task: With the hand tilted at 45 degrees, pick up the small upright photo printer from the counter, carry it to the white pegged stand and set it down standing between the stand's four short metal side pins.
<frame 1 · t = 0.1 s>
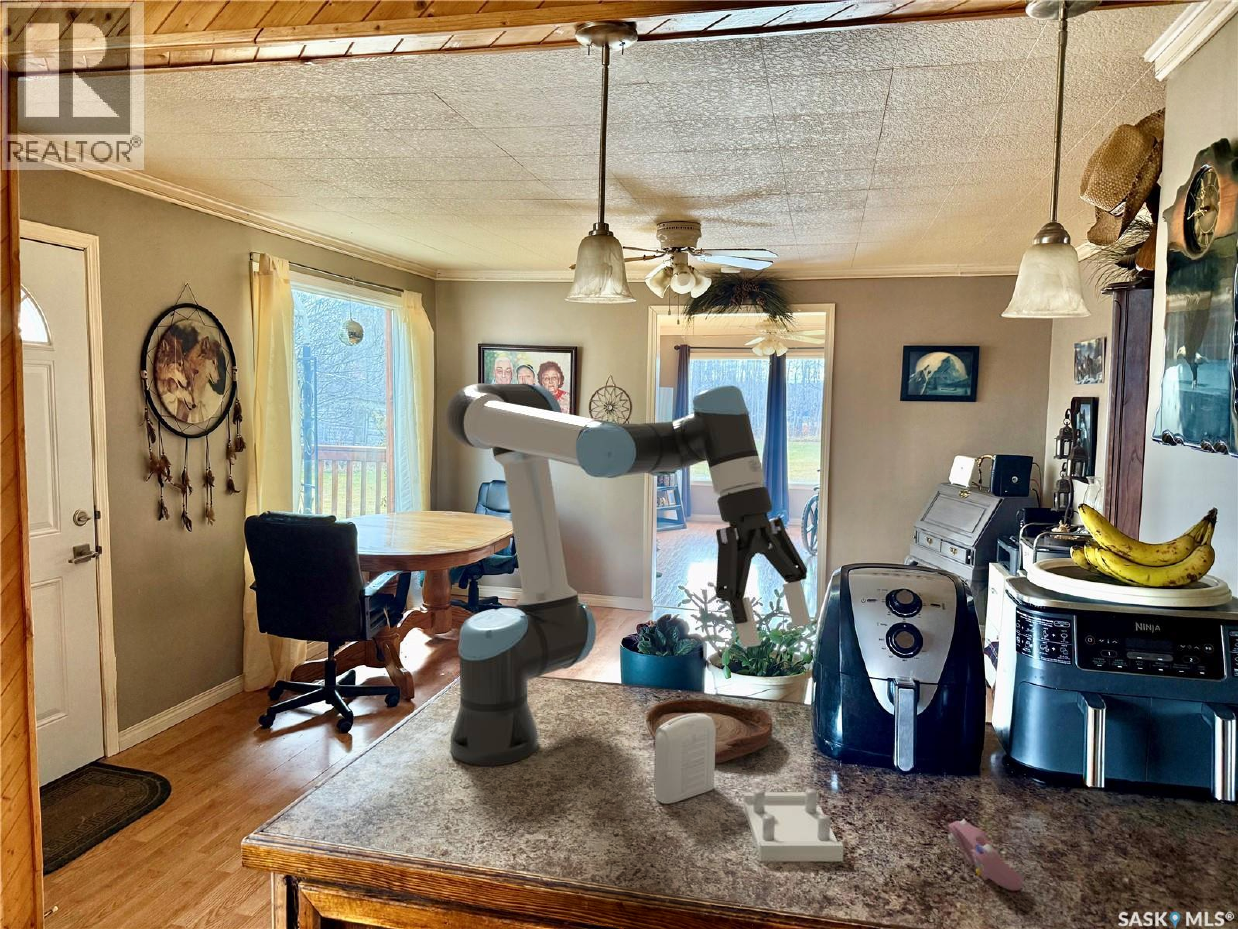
hand: (778, 636, 112), 28 cm above the kitchen counter, tool tilted 20°, fingers open, 13 cm apart
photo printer: (684, 794, 123), on the kitchen counter
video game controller: (981, 872, 103), on the kitchen counter
white pegged stand: (790, 832, 112), on the kitchen counter
basket: (708, 742, 142), on the kitchen counter
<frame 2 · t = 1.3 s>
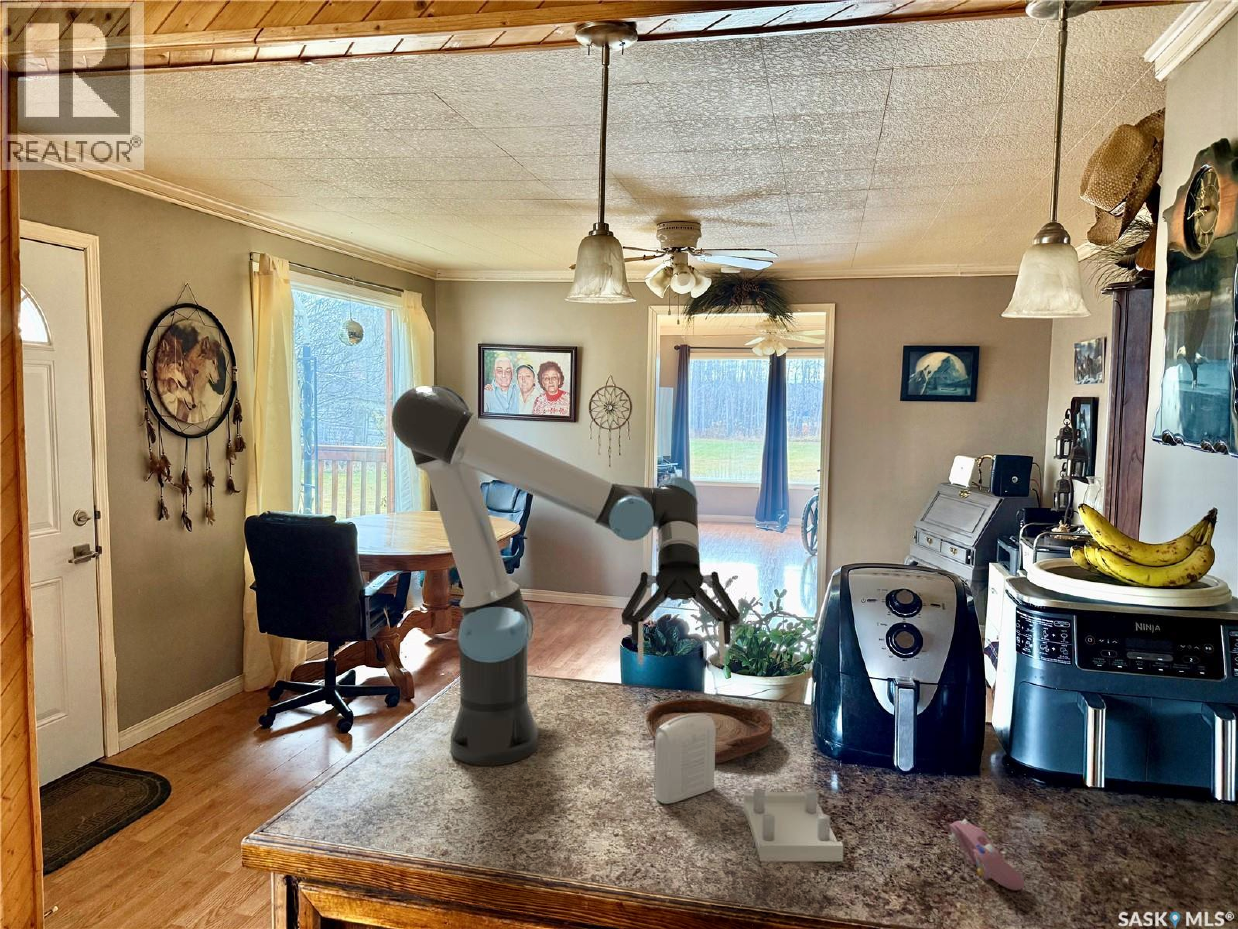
hand: (681, 661, 130), 18 cm above the kitchen counter, tool tilted 45°, fingers open, 13 cm apart
nothing on the kitchen counter moved.
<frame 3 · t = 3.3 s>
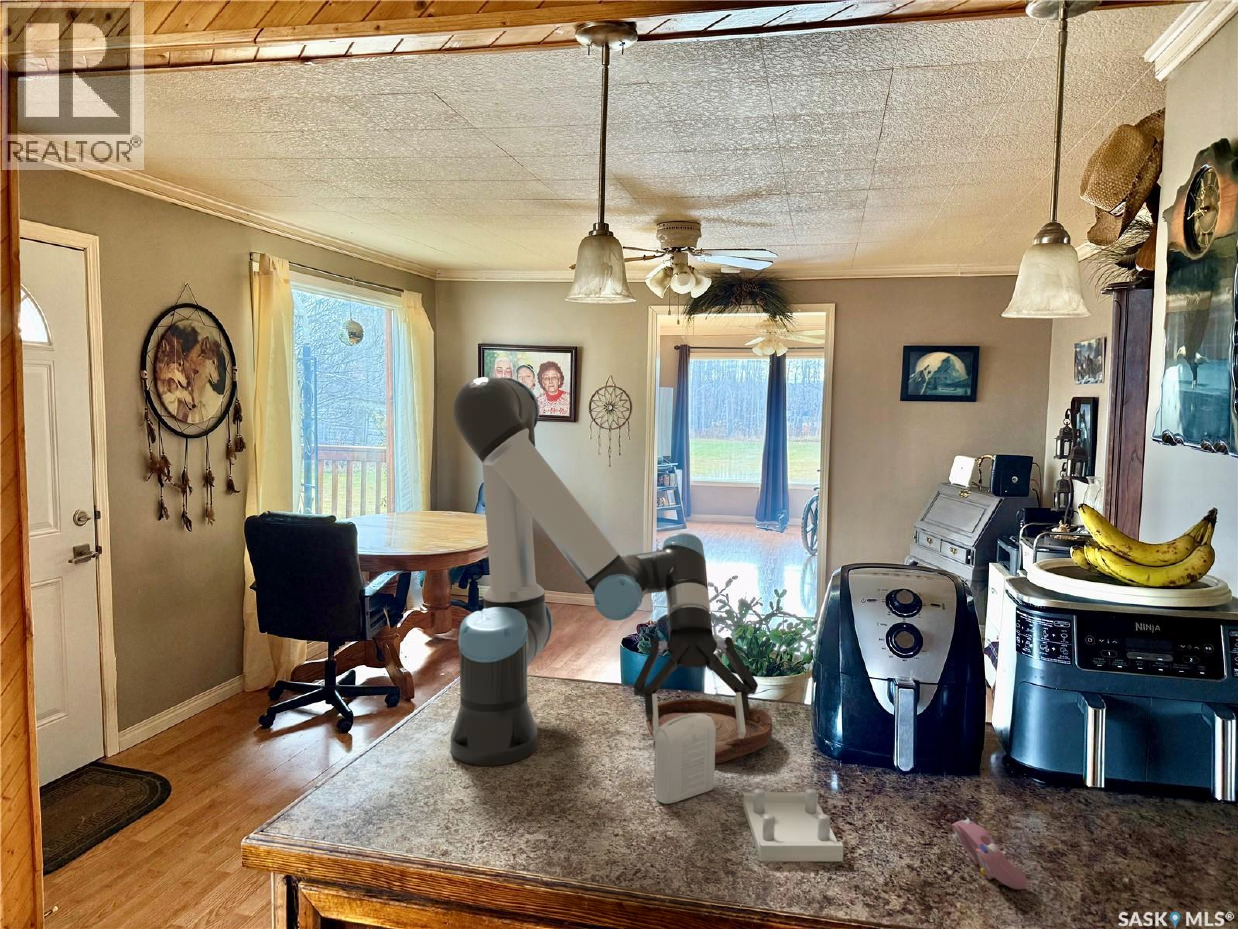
hand: (699, 736, 124), 8 cm above the kitchen counter, tool tilted 45°, fingers open, 13 cm apart
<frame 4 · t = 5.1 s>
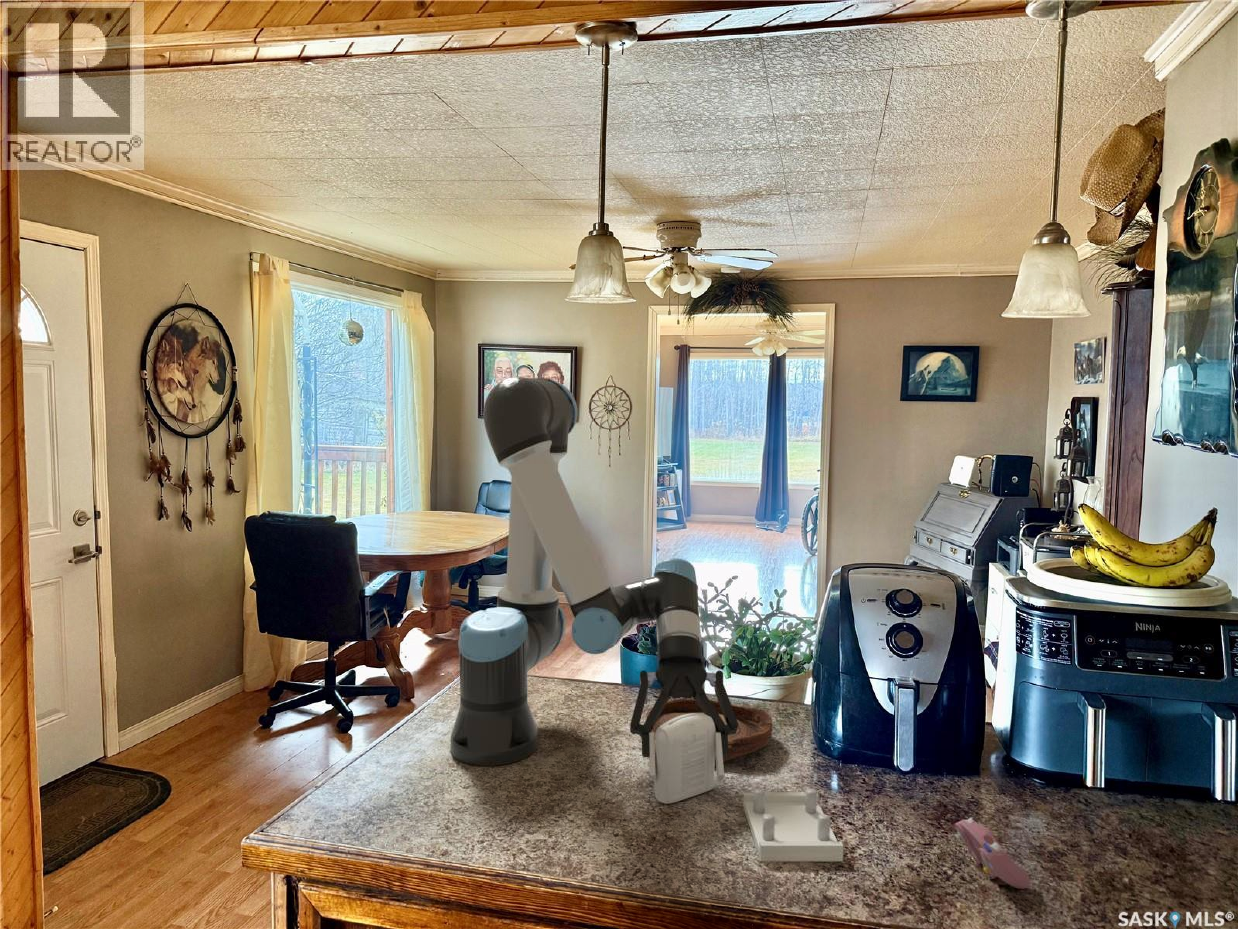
hand: (686, 778, 119), 4 cm above the kitchen counter, tool tilted 45°, fingers closed on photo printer, 10 cm apart
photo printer: (684, 794, 123), on the kitchen counter, touching gripper
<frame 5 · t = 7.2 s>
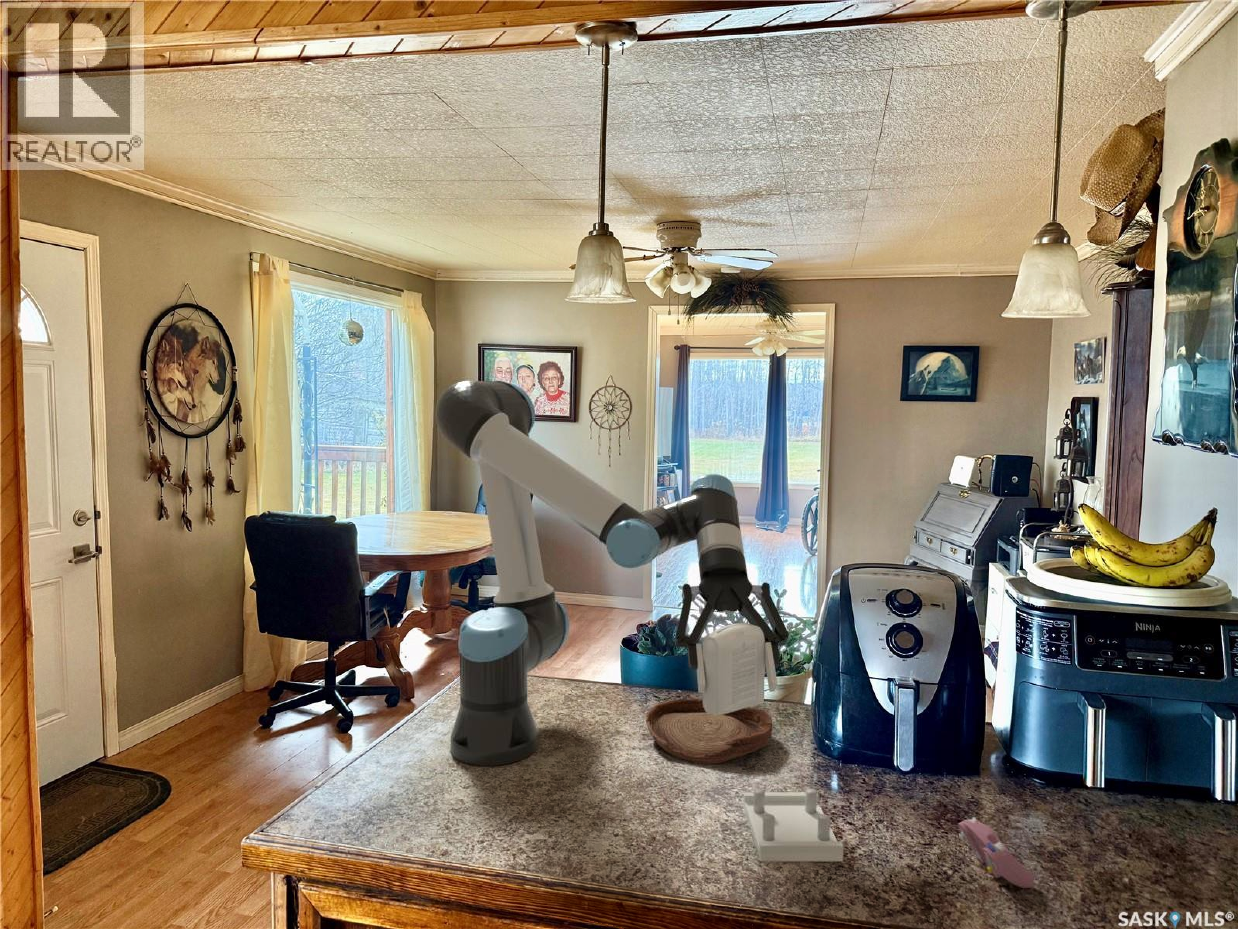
hand: (737, 688, 114), 20 cm above the kitchen counter, tool tilted 45°, fingers closed on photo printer, 10 cm apart
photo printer: (734, 707, 117), point 15 cm above the kitchen counter, touching gripper
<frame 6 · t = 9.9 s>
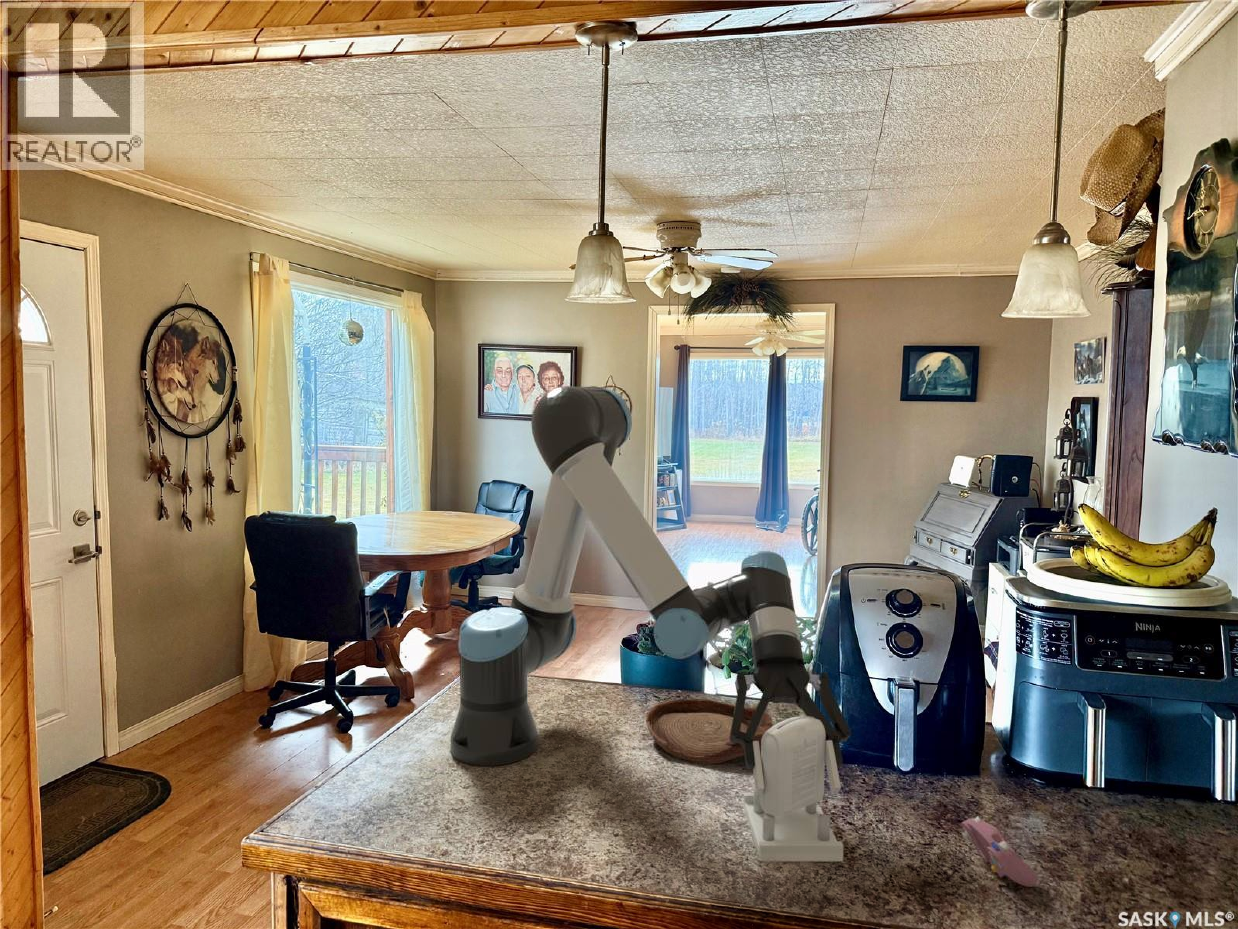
hand: (798, 791, 108), 8 cm above the kitchen counter, tool tilted 45°, fingers closed on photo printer, 10 cm apart
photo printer: (792, 805, 111), point 4 cm above the kitchen counter, touching gripper, white pegged stand
when the fingers open (8 cm above the kitchen counter, at t = 10.3 s): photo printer stays where it is, resting on white pegged stand.
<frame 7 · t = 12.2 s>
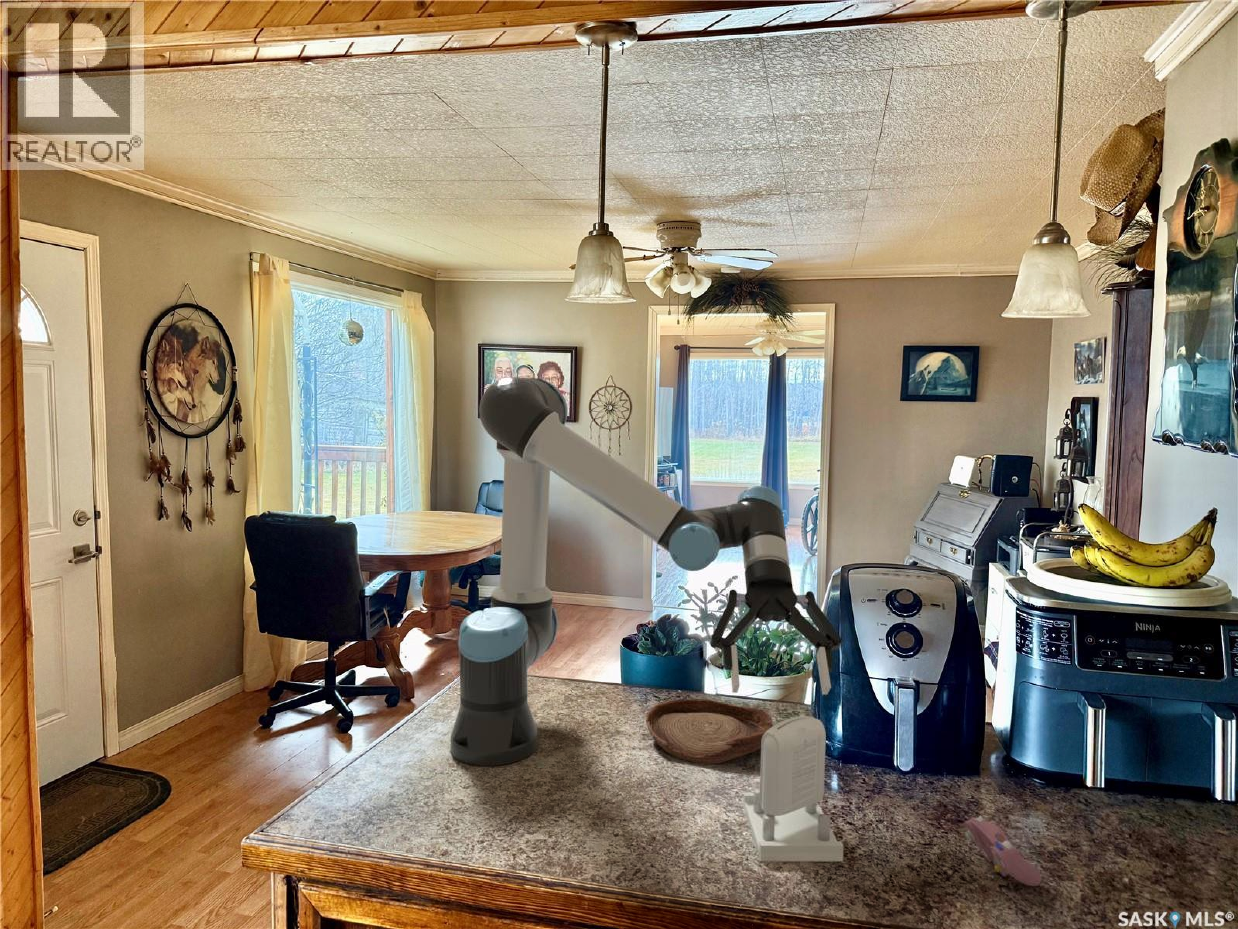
hand: (781, 690, 118), 18 cm above the kitchen counter, tool tilted 45°, fingers open, 13 cm apart
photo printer: (792, 805, 111), point 4 cm above the kitchen counter, touching white pegged stand
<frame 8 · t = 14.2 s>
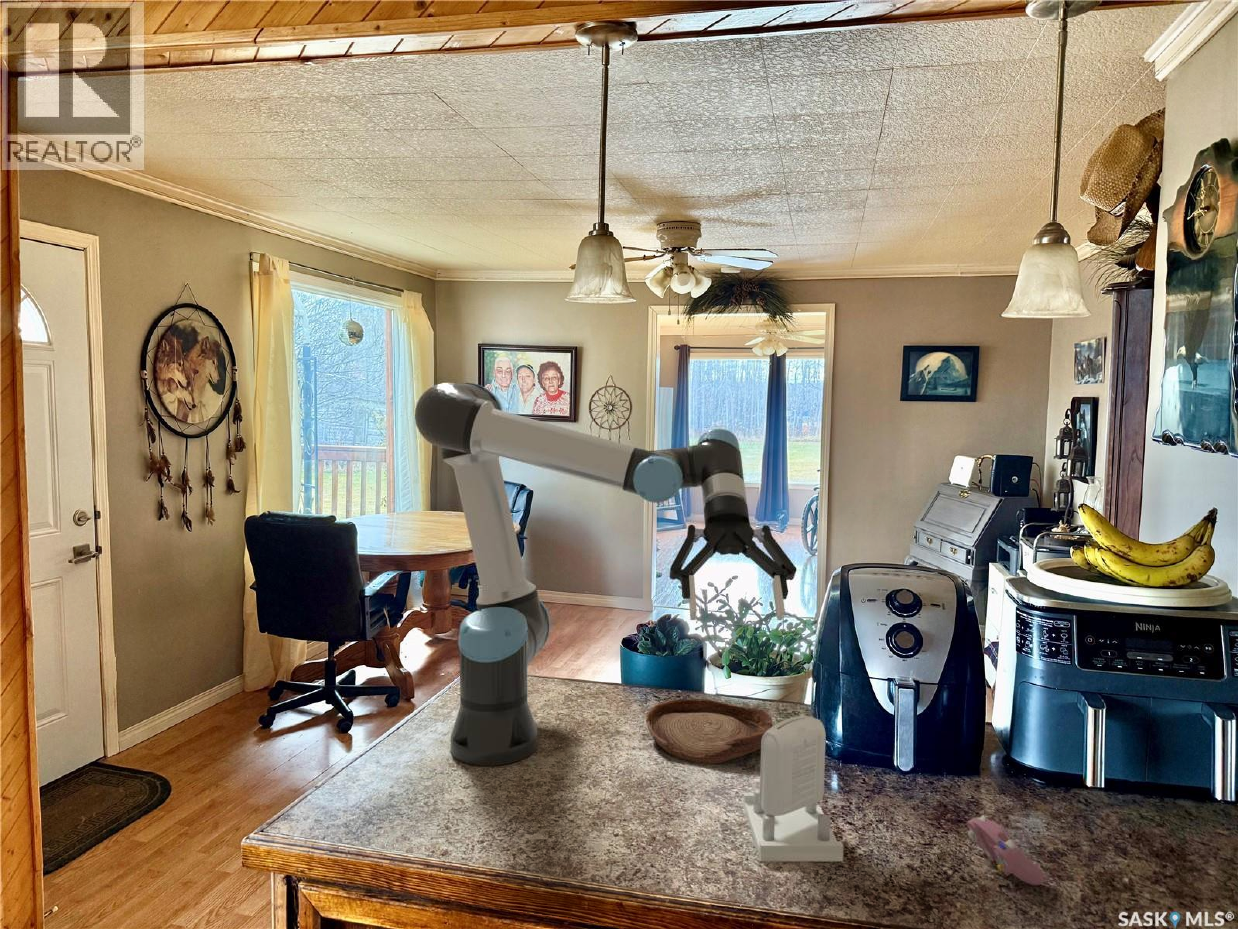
hand: (737, 616, 122), 28 cm above the kitchen counter, tool tilted 45°, fingers open, 13 cm apart
at the end: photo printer inside the target area on the white pegged stand (0.2 cm from its centre), point 4.0 cm above the white pegged stand's base; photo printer tilted 0°; the gripper is holding nothing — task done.
